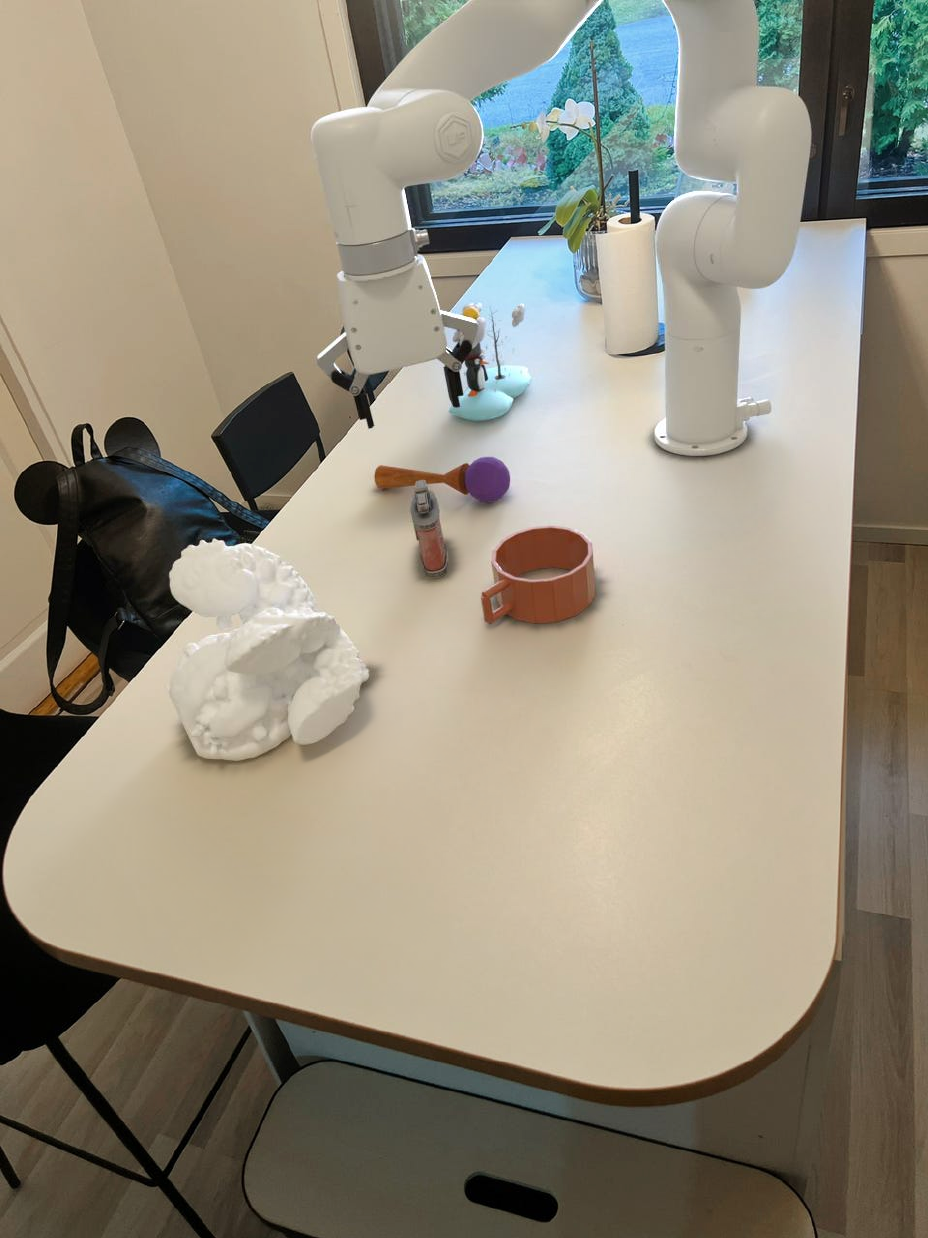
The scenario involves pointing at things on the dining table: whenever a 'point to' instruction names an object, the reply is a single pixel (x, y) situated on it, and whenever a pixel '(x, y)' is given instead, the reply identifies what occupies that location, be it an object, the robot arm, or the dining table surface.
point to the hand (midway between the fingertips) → (412, 413)
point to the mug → (541, 595)
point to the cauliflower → (258, 655)
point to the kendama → (454, 478)
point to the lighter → (428, 531)
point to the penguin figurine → (489, 374)
